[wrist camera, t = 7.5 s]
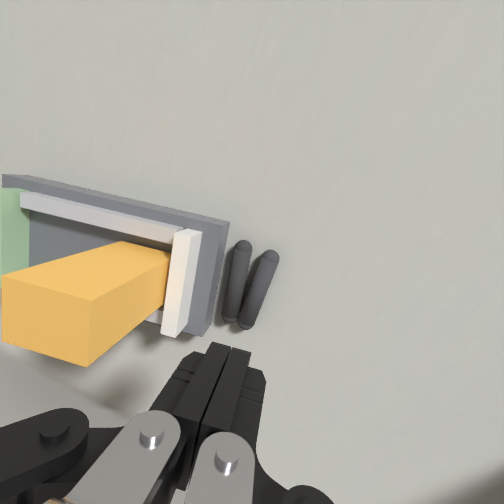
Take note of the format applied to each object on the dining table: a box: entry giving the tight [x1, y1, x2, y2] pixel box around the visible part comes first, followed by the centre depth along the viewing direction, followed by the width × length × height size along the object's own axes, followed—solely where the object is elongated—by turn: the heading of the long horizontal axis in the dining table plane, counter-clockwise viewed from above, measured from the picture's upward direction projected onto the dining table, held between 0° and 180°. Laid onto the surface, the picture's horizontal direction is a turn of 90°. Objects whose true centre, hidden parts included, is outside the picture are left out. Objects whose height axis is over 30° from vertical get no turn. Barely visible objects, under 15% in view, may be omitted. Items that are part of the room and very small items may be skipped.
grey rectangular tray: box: [0, 174, 230, 338], centre depth 20 cm, size 16×8×4 cm, turn 77°
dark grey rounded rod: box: [238, 250, 279, 330], centre depth 20 cm, size 6×1×1 cm, turn 159°
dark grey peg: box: [222, 240, 252, 323], centre depth 20 cm, size 6×1×1 cm, turn 167°
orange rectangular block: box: [1, 241, 172, 368], centre depth 16 cm, size 4×3×8 cm
